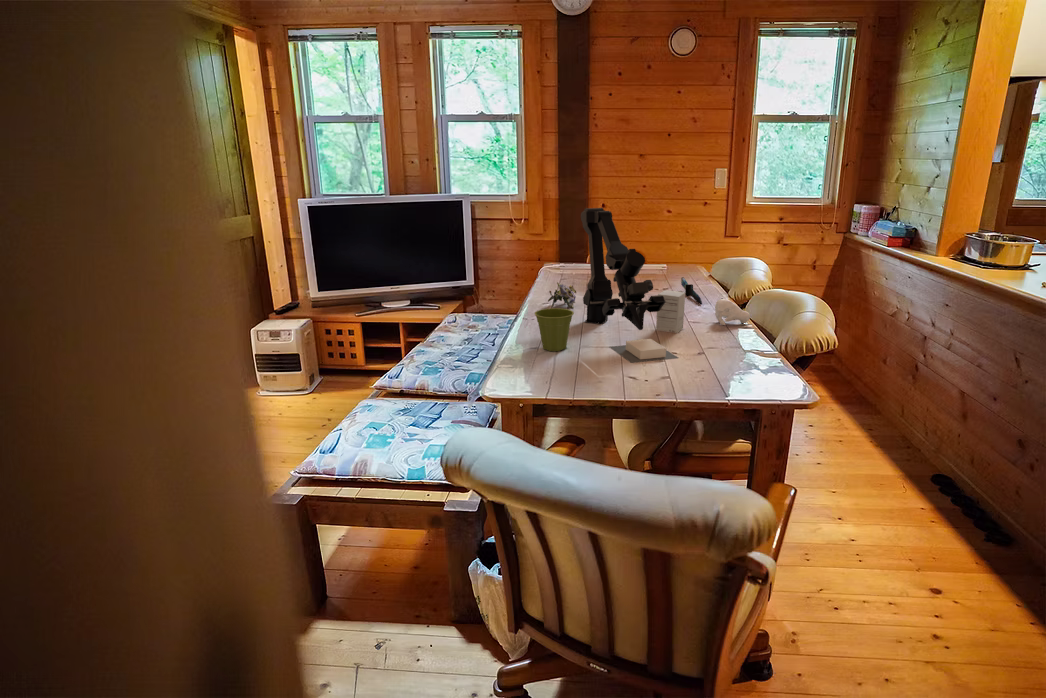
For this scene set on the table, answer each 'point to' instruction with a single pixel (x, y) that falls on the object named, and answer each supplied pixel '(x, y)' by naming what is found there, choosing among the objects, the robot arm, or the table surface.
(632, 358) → the mat
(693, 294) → the knife
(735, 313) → the white animal figurine
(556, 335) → the plant pot
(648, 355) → the white and orange box
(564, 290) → the passion flower
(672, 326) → the supplement box
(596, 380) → the table surface
